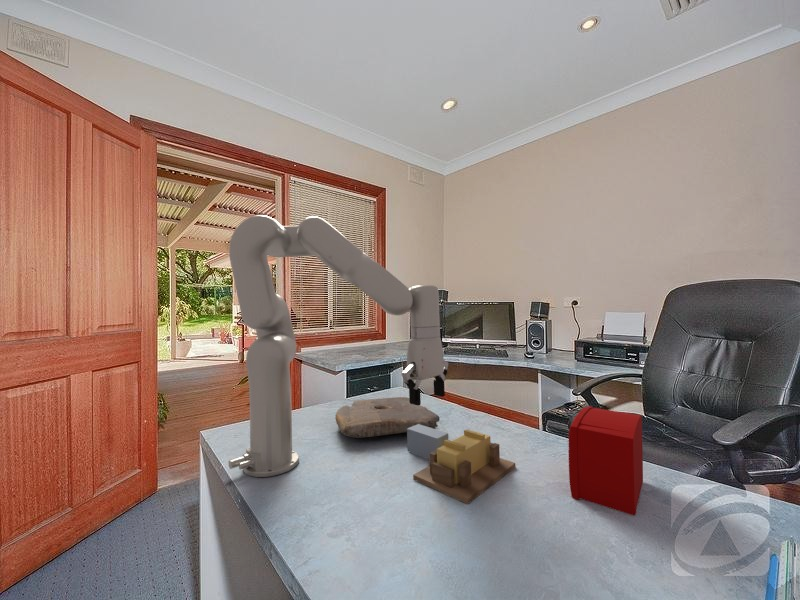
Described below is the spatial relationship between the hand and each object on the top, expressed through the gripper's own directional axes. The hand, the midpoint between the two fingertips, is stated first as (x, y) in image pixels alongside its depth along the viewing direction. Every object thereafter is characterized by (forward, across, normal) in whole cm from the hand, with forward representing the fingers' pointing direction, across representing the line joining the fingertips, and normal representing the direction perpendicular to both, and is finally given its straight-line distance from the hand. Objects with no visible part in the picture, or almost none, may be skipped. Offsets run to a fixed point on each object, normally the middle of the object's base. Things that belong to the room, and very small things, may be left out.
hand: (427, 399), depth 89 cm
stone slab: (+14, -6, -24) cm, 29 cm away
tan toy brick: (+13, +2, +12) cm, 18 cm away
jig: (+14, +2, +13) cm, 19 cm away
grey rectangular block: (+14, 0, 0) cm, 14 cm away
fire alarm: (+14, -12, +38) cm, 42 cm away
